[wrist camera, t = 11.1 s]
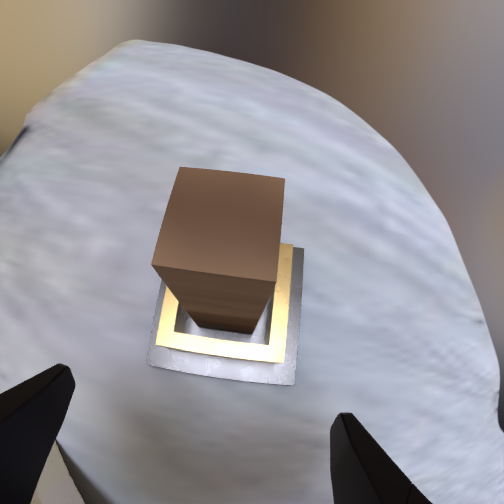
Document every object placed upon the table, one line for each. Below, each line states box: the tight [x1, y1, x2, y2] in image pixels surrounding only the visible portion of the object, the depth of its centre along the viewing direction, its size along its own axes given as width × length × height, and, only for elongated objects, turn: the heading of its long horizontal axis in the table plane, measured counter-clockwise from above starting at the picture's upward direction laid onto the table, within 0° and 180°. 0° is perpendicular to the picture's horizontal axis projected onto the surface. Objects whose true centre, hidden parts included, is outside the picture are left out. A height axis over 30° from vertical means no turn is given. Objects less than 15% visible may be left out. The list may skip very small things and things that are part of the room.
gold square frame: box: [146, 243, 304, 385], centre depth 20 cm, size 11×11×4 cm
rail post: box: [151, 167, 285, 335], centre depth 16 cm, size 4×4×13 cm
